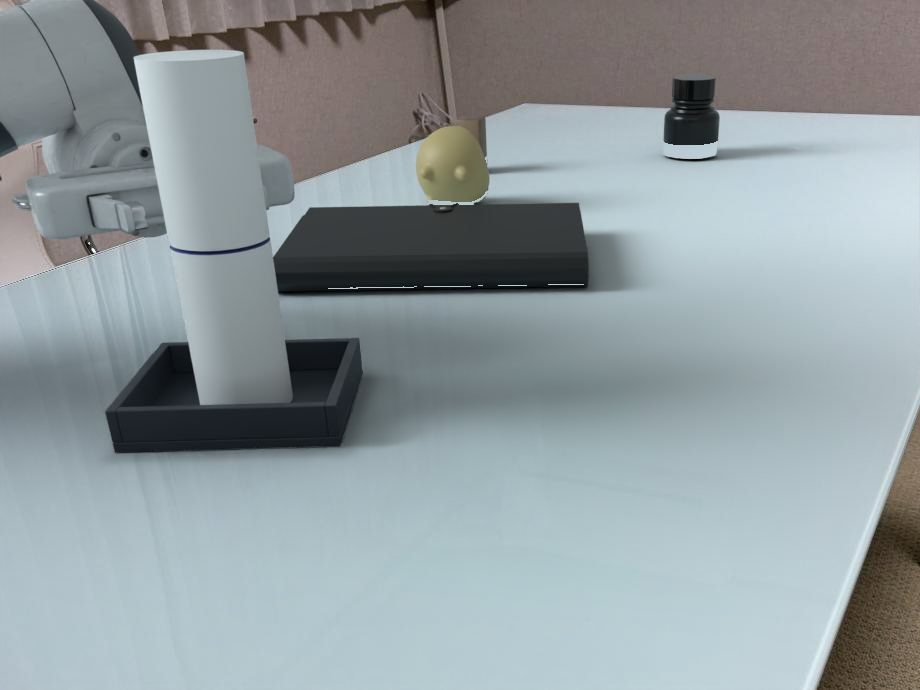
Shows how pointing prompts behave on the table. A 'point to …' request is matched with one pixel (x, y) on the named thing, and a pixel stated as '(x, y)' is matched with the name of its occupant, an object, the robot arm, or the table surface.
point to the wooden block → (475, 129)
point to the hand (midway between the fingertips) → (200, 209)
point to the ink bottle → (692, 112)
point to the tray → (238, 425)
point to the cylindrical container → (216, 222)
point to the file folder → (434, 247)
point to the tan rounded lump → (452, 166)
